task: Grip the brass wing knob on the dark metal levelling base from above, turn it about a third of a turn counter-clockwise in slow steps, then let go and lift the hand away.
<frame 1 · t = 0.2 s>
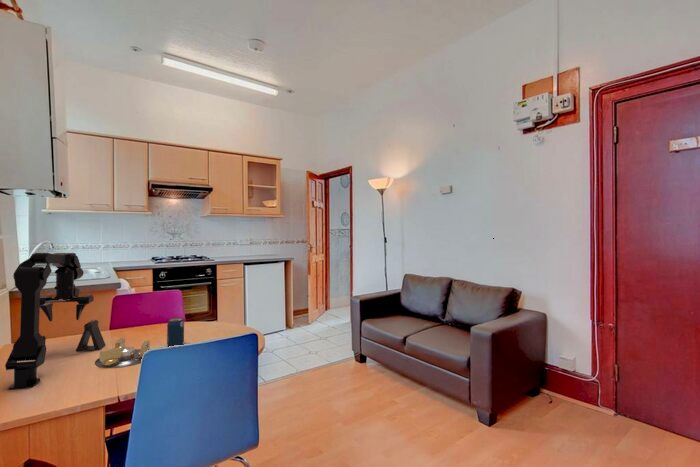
hand: (64, 320, 145), 14 cm above the table, tool pointing down, fingers open, 9 cm apart
soda can: (175, 345, 161), on the table
wing knob: (111, 356, 134), point 5 cm above the table, hinge at 0.0°
levelling base: (125, 361, 141), on the table
phone stand: (91, 349, 154), on the table
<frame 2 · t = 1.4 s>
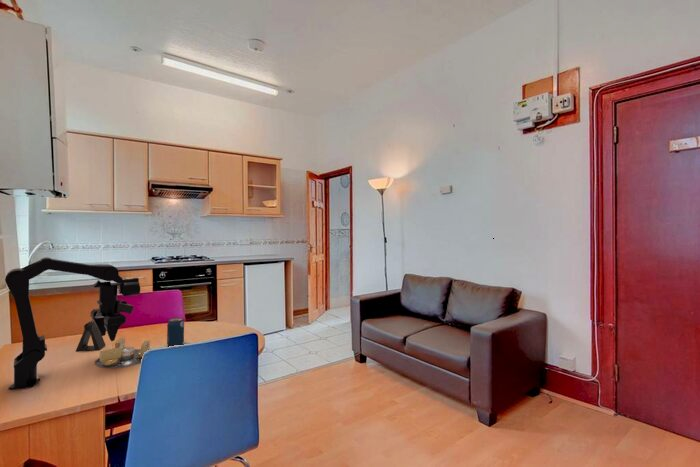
hand: (107, 338, 135), 11 cm above the table, tool pointing down, fingers open, 9 cm apart
nothing on the table moved.
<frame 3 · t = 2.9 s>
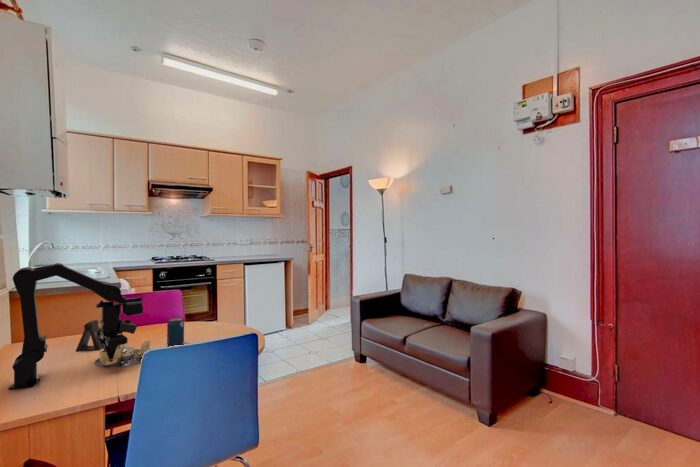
hand: (110, 358, 134), 4 cm above the table, tool pointing down, fingers closed on wing knob, 2 cm apart
wing knob: (111, 356, 134), point 5 cm above the table, hinge at 0.0°, touching gripper
everything else where it was.
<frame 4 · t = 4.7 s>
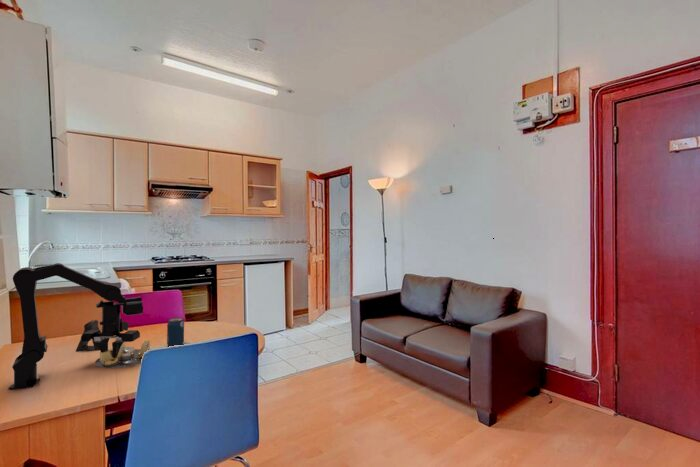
hand: (110, 358, 134), 4 cm above the table, tool pointing down, fingers closed on wing knob, 3 cm apart
wing knob: (111, 356, 134), point 5 cm above the table, hinge at 9.6°, touching gripper
everything else where it was.
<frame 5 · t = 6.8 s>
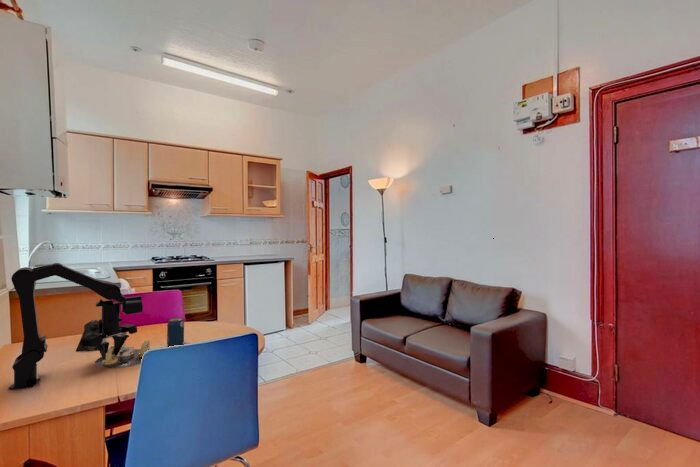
hand: (110, 357, 134), 4 cm above the table, tool pointing down, fingers closed on wing knob, 4 cm apart
wing knob: (110, 356, 134), point 5 cm above the table, hinge at 64.9°, touching gripper
everything else where it was.
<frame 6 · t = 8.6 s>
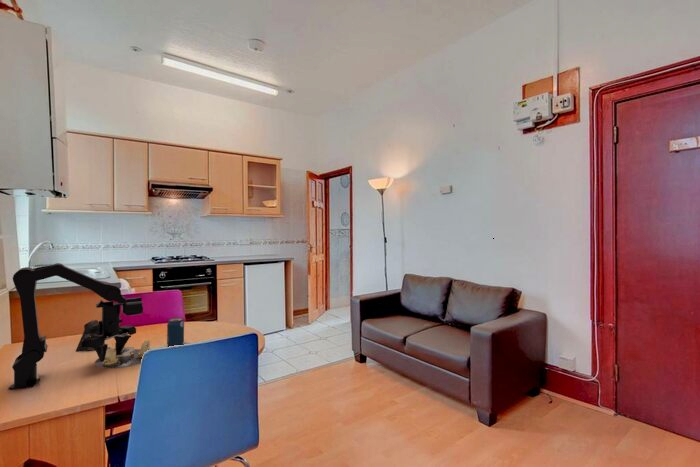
hand: (110, 358, 134), 4 cm above the table, tool pointing down, fingers open, 6 cm apart
wing knob: (110, 356, 134), point 5 cm above the table, hinge at 89.5°
everything else where it was.
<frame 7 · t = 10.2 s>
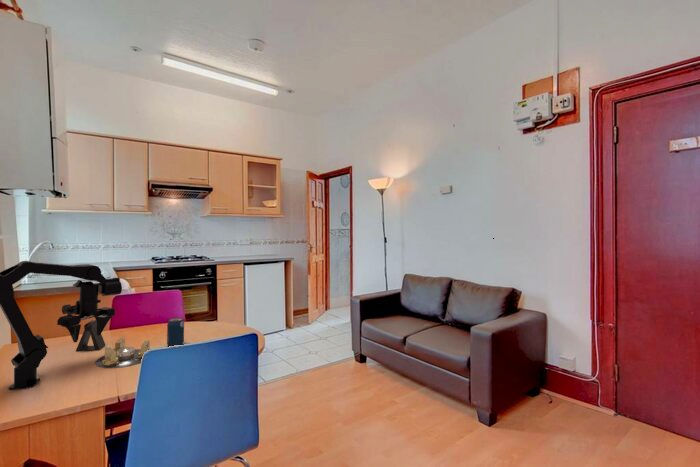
hand: (87, 338, 133), 11 cm above the table, tool pointing down, fingers open, 9 cm apart
wing knob: (110, 356, 134), point 5 cm above the table, hinge at 92.6°
everything else where it was.
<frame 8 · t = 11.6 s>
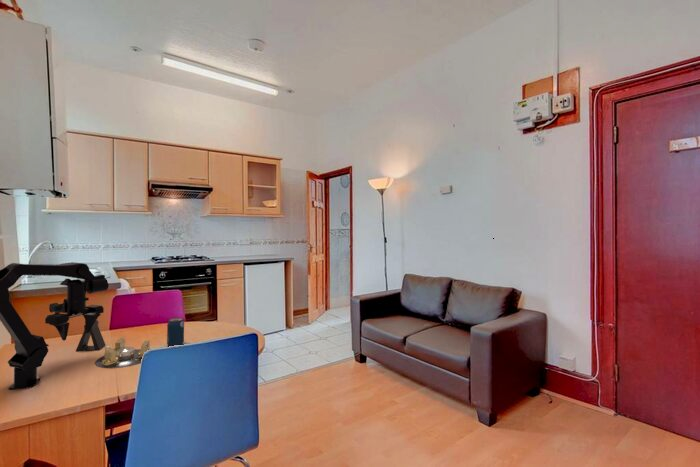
hand: (76, 336, 134), 12 cm above the table, tool pointing down, fingers open, 9 cm apart
wing knob: (110, 356, 134), point 5 cm above the table, hinge at 93.3°
everything else where it was.
at the end: wing knob at +93° (first picture: +0°); the gripper is holding nothing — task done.
